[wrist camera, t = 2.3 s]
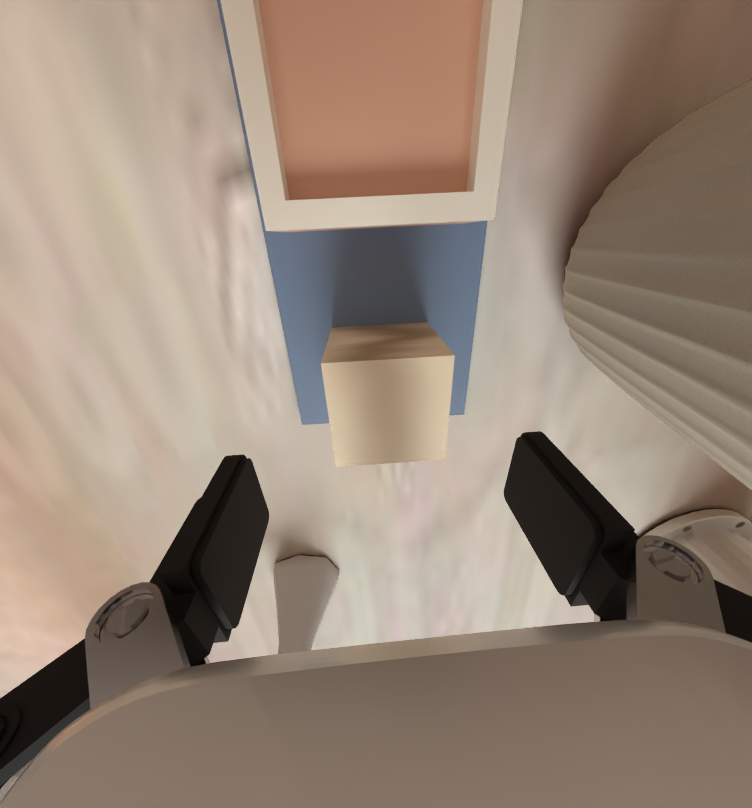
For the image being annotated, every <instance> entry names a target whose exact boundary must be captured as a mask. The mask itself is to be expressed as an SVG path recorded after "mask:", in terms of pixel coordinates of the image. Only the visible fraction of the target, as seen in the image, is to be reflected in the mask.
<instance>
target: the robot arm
mask: <svg viewBox="0 0 752 808" xmlns="http://www.w3.org/2000/svg"><path fill="white" fill-rule="evenodd" d="M504 497H505V500H506V502H507V504H508V506H509V507H510V509H511V511H512V513H513V514H514V516H515V518H516V520H517V521H518V523H519V525H520V527H521V528H522V530H523V532H524V534H525V535H526V537H527V539H528V541H529V542H530V544H531V546H532V548H533V549H534V551H535V553H536V555H537V556H538V558H539V560H540V562H541V563H542V565H543V567H544V569H545V570H546V572H547V574H548V576H549V577H550V579H551V581H552V583H553V584H554V586H555V588H556V589H557V591H558V592H559V593H560V594H561V595H565V597H566V599H567V600H568V602H569V604H570V606H580V605H589V606H590V607H591V609H592V610H593V612H594V614H595V615H594V622H589V623H576V624H564V625H553V626H543V627H533V628H523V629H513V630H503V631H493V632H482V633H472V634H463V635H453V636H443V637H434V638H424V639H415V640H405V641H395V642H386V643H376V644H367V645H358V646H349V647H340V648H330V649H321V650H312V651H303V652H294V653H285V654H276V655H268V656H260V657H253V658H245V659H237V660H229V661H222V662H215V663H210V662H209V660H208V657H207V656H208V655H209V654H210V651H211V648H212V645H213V643H216V642H226V641H228V640H229V637H230V634H231V630H232V629H233V628H236V627H237V626H238V624H239V621H240V618H241V614H242V611H243V607H244V604H245V601H246V597H247V594H248V590H249V587H250V583H251V580H252V576H253V573H254V569H255V566H256V563H257V559H258V556H259V552H260V549H261V545H262V542H263V538H264V535H265V531H266V528H267V525H268V521H269V511H268V508H267V505H266V502H265V499H264V496H263V493H262V490H261V487H260V484H259V481H258V478H257V475H256V472H255V469H254V466H253V463H252V461H251V459H249V458H248V459H247V458H246V456H245V455H232V456H226V457H224V459H223V460H222V462H221V464H220V466H219V467H218V469H217V471H216V473H215V474H214V476H213V478H212V480H211V481H210V483H209V485H208V487H207V489H206V490H205V492H204V494H203V496H202V497H201V498H200V499H198V500H197V502H196V503H195V504H194V506H193V508H192V510H191V511H190V513H189V515H188V517H187V518H186V520H185V522H184V523H183V525H182V527H181V529H180V530H179V532H178V534H177V536H176V537H175V539H174V541H173V542H172V544H171V546H170V548H169V549H168V551H167V553H166V555H165V556H164V558H163V560H162V561H161V563H160V565H159V567H158V568H157V570H156V572H155V574H154V575H153V577H152V579H151V580H150V582H141V583H138V584H134V585H131V586H129V587H127V588H125V589H123V590H121V591H120V592H118V593H117V594H115V595H114V596H113V597H111V598H110V599H109V600H108V601H107V602H106V603H105V604H104V605H102V606H101V607H100V608H99V610H98V611H97V612H96V614H95V615H94V616H93V618H92V619H91V621H90V623H89V625H88V627H87V629H86V635H85V639H83V640H82V641H81V642H79V643H78V644H76V645H75V646H74V647H72V648H71V649H69V650H68V651H67V652H65V653H64V654H62V655H61V656H60V657H58V658H57V659H55V660H54V661H52V662H51V663H50V664H48V665H47V666H45V667H44V668H43V669H41V670H40V671H38V672H37V673H36V674H34V675H33V676H31V677H30V678H29V679H27V680H26V681H24V682H23V683H22V684H20V685H19V686H17V687H16V688H14V689H13V690H12V691H10V692H9V693H7V694H6V695H5V696H3V697H2V698H1V699H0V808H752V523H751V522H750V521H749V520H748V519H746V518H745V517H743V516H742V515H740V514H739V513H737V512H735V511H731V510H725V509H708V510H701V511H696V512H691V513H688V514H685V515H681V516H678V517H676V518H673V519H671V520H668V521H666V522H665V523H663V524H661V525H659V526H657V527H655V528H654V529H652V530H650V531H649V532H647V533H646V534H645V535H643V536H642V537H641V538H639V537H638V536H637V535H636V533H635V532H634V530H635V529H634V528H633V527H632V526H631V525H630V524H629V523H628V522H627V521H626V520H625V519H624V518H623V516H622V515H621V514H620V513H619V512H618V511H617V510H616V509H615V508H614V507H613V506H612V505H611V504H610V503H609V502H608V501H607V500H606V499H605V498H604V497H603V495H602V494H601V493H600V492H599V491H598V490H597V489H596V488H595V487H594V486H593V485H592V484H591V483H590V482H589V481H588V480H587V479H586V478H585V477H584V475H583V474H582V473H581V472H580V471H579V470H578V469H577V468H576V467H575V466H574V465H573V464H572V463H571V462H570V461H569V460H568V459H567V458H566V457H565V456H564V454H563V453H562V452H561V451H560V450H559V449H558V448H557V447H556V446H555V445H554V444H553V443H552V442H551V441H550V440H549V439H548V438H547V437H546V436H545V434H543V433H542V432H526V433H523V434H522V435H521V437H518V438H517V440H516V444H515V448H514V452H513V456H512V460H511V464H510V468H509V472H508V476H507V480H506V484H505V488H504Z"/></svg>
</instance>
